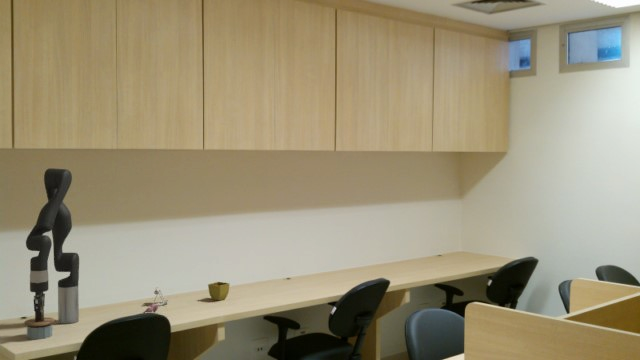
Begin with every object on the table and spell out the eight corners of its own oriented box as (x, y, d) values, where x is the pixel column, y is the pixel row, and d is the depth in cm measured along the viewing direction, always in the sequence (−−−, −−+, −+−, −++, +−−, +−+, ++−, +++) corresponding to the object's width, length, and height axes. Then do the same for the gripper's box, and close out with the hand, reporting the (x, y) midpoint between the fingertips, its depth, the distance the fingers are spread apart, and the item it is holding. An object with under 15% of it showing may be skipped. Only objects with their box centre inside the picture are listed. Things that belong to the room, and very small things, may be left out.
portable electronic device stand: (167, 305, 352) (167, 290, 351) (152, 306, 350) (152, 290, 350) (168, 302, 360) (168, 287, 360) (153, 302, 359) (153, 287, 359)
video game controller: (147, 321, 323) (153, 309, 323) (139, 316, 324) (145, 304, 323) (155, 316, 333) (161, 304, 332) (148, 312, 334) (153, 300, 333)
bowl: (33, 333, 295) (33, 322, 295) (55, 333, 295) (55, 322, 295) (23, 339, 285) (23, 327, 285) (46, 339, 285) (46, 327, 285)
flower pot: (219, 302, 360) (219, 285, 360) (207, 300, 365) (207, 284, 365) (230, 299, 368) (230, 283, 368) (218, 297, 372) (218, 281, 372)
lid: (31, 319, 296) (31, 306, 295) (58, 319, 296) (58, 306, 296) (19, 326, 284) (19, 312, 283) (47, 326, 284) (47, 312, 284)
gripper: (33, 277, 295) (33, 315, 296) (26, 283, 281) (27, 323, 282) (50, 277, 297) (51, 314, 297) (45, 282, 283) (45, 322, 284)
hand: (39, 318), depth 290 cm, fingers closed on lid, 3 cm apart
